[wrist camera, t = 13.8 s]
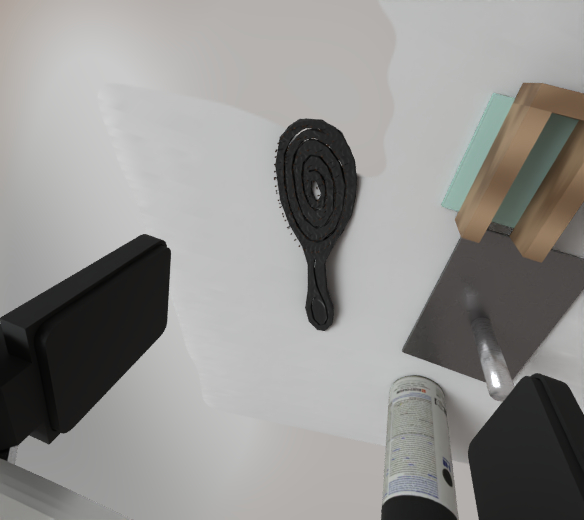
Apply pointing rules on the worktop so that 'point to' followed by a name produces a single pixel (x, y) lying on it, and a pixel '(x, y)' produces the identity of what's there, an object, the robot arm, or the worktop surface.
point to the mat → (529, 173)
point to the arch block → (508, 161)
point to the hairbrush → (316, 201)
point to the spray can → (418, 454)
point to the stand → (493, 309)
